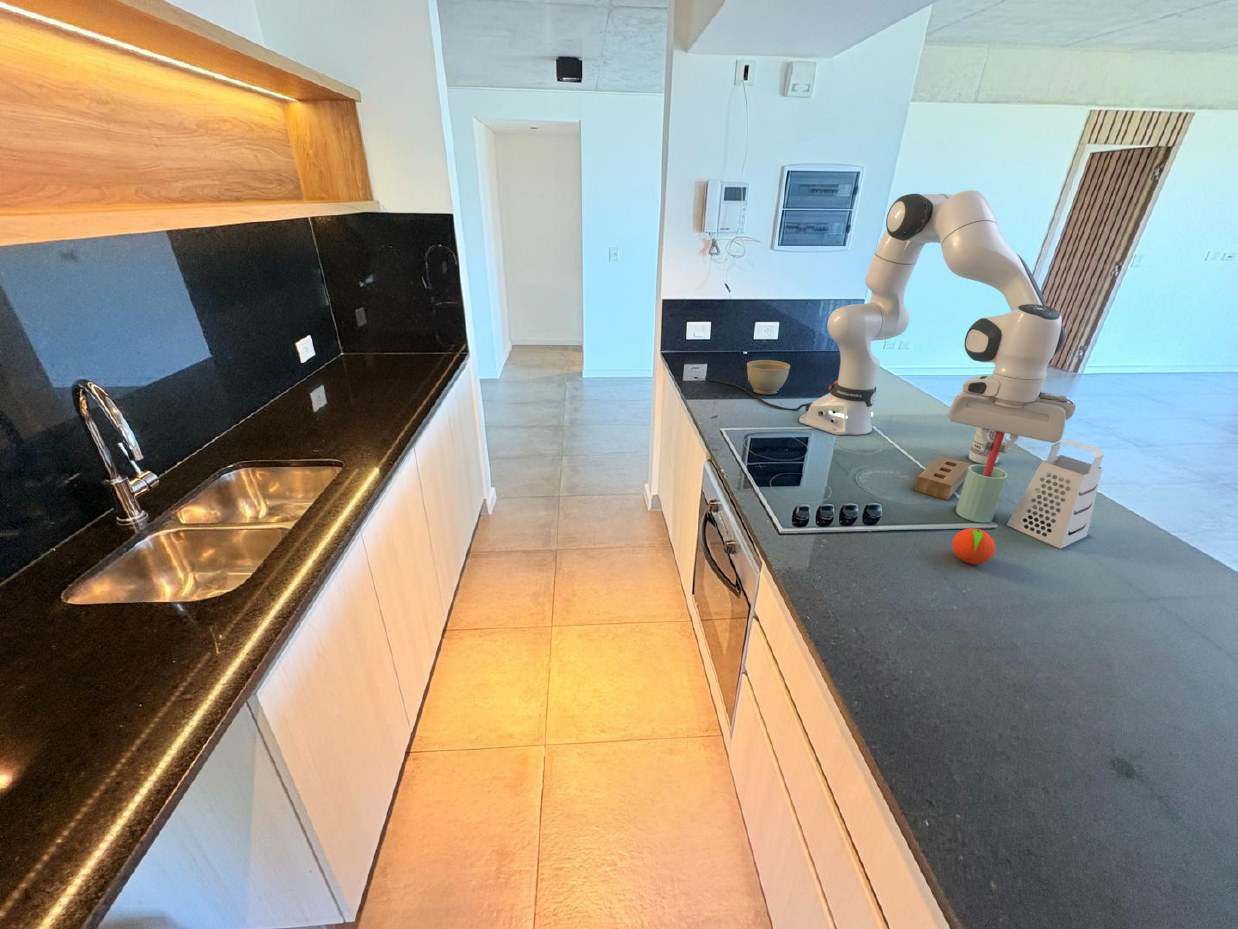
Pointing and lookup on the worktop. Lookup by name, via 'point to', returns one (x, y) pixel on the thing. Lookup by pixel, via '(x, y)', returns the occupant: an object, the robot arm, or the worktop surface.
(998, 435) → the straw
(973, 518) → the cup
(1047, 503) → the grater
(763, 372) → the planter bowl
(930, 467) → the block
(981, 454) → the bath foam
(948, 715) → the worktop surface
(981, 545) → the clementine
